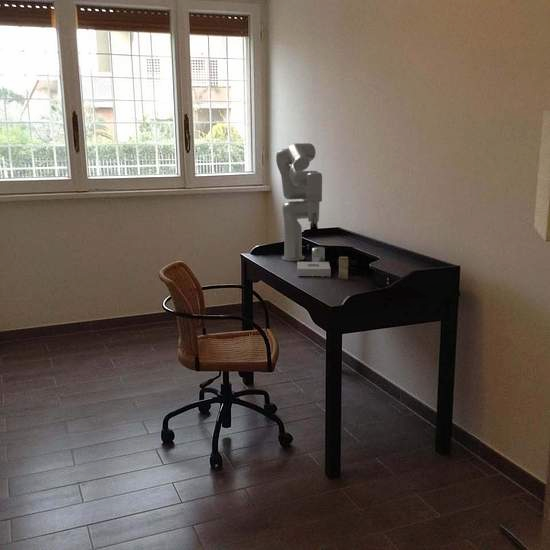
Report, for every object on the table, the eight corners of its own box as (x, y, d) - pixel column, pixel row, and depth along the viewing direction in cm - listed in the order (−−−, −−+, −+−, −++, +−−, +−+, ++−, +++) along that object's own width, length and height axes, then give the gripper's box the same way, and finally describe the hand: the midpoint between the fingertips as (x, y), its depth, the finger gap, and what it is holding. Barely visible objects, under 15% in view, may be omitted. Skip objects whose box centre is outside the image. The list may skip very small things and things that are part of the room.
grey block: (311, 265, 333) (311, 246, 330) (324, 265, 332) (324, 246, 330) (312, 268, 326) (312, 249, 324) (324, 268, 326) (325, 249, 324)
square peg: (338, 276, 308) (339, 256, 305) (347, 276, 308) (347, 256, 305) (339, 278, 304) (339, 258, 301) (347, 278, 304) (348, 258, 301)
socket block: (297, 269, 324) (297, 261, 323) (328, 269, 323) (328, 261, 322) (297, 276, 308) (297, 268, 307) (330, 276, 308) (330, 268, 307)
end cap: (336, 270, 322) (336, 257, 320) (349, 269, 323) (350, 256, 322) (343, 274, 312) (343, 261, 311) (356, 274, 314) (356, 260, 312)
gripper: (305, 196, 315) (305, 230, 319) (306, 200, 299) (306, 236, 303) (321, 196, 315) (320, 230, 319) (322, 200, 298) (322, 236, 303)
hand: (313, 232), depth 311 cm, fingers open, 9 cm apart
